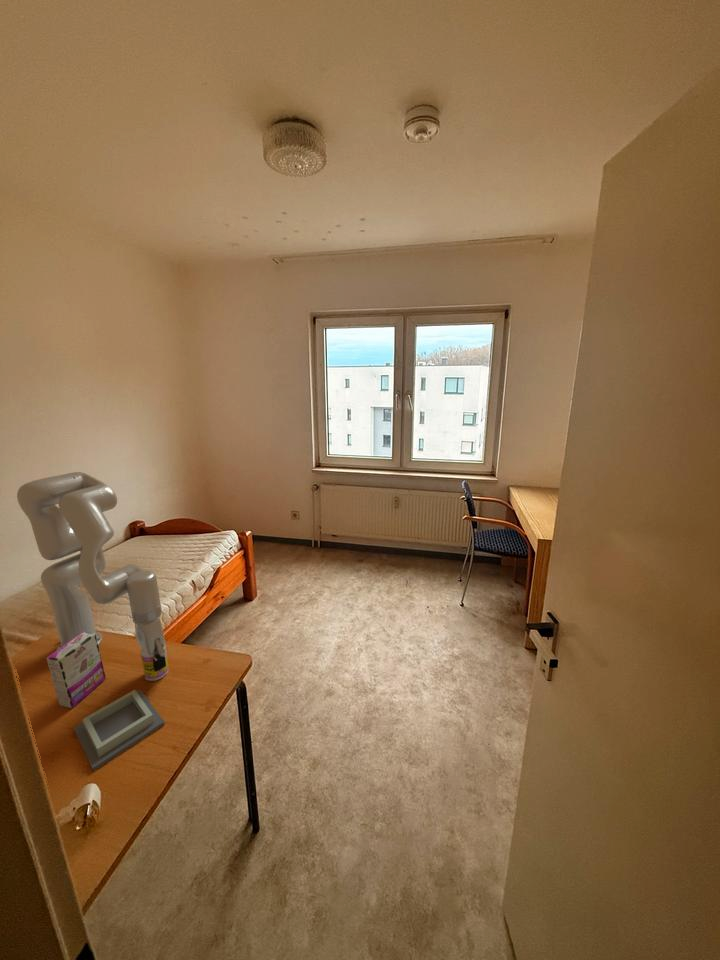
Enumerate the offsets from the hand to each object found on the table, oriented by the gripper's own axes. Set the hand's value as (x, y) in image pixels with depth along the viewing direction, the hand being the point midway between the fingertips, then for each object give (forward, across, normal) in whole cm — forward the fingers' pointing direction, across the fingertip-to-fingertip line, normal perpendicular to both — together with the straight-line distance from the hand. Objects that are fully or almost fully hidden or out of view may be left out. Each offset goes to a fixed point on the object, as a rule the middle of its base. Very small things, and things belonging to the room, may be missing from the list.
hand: (155, 662), depth 114 cm
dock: (+4, +12, -14) cm, 19 cm away
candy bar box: (+4, -9, -17) cm, 20 cm away
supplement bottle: (+4, 0, 0) cm, 4 cm away
